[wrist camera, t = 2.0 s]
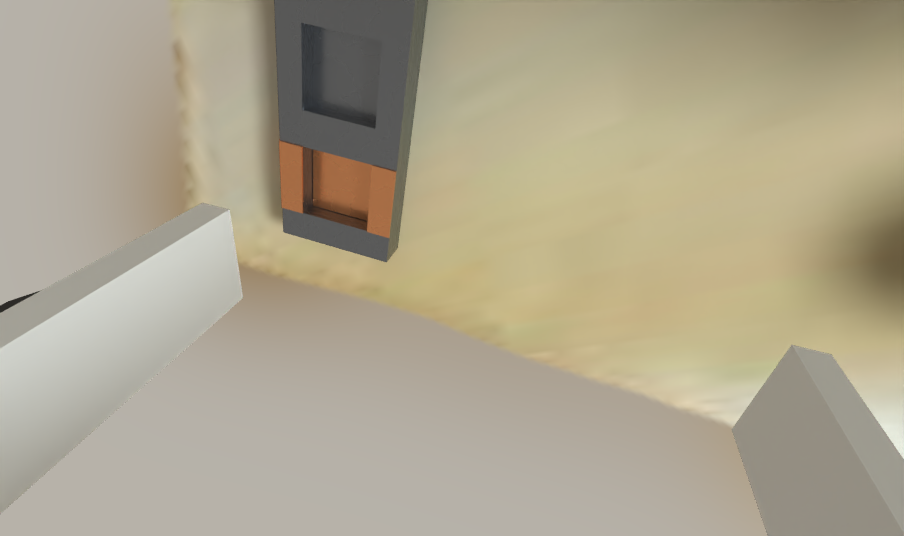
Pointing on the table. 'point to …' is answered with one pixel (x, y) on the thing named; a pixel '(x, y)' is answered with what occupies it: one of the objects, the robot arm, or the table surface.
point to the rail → (347, 118)
